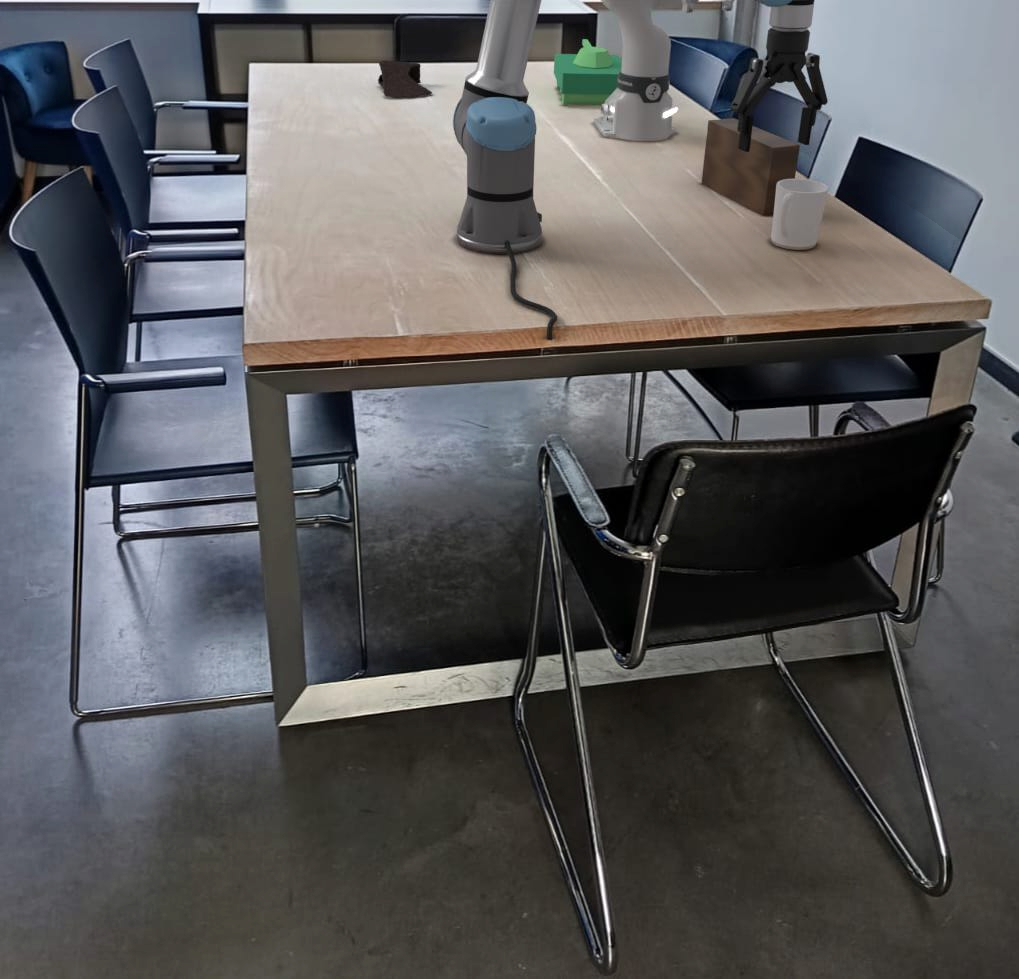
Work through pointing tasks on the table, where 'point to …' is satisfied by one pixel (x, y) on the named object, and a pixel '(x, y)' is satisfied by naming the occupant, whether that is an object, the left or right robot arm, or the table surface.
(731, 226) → the table surface
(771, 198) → the box
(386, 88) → the axe head
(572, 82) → the toy tank
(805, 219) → the mug
